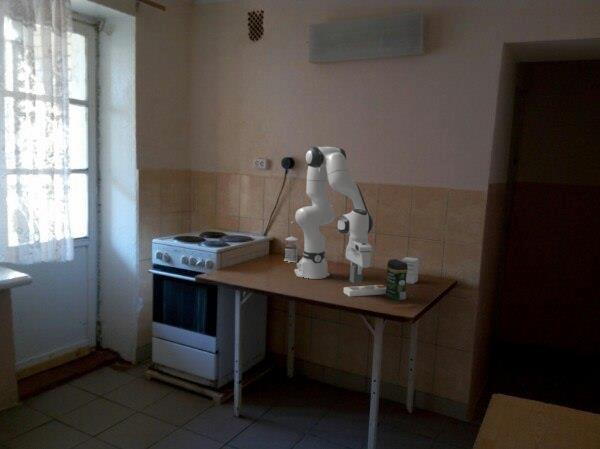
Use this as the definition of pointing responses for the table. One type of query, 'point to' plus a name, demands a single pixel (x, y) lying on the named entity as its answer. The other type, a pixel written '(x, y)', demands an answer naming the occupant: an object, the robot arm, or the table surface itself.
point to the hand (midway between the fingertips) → (356, 272)
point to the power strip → (365, 290)
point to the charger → (355, 274)
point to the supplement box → (411, 269)
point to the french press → (291, 250)
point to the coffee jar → (396, 279)
